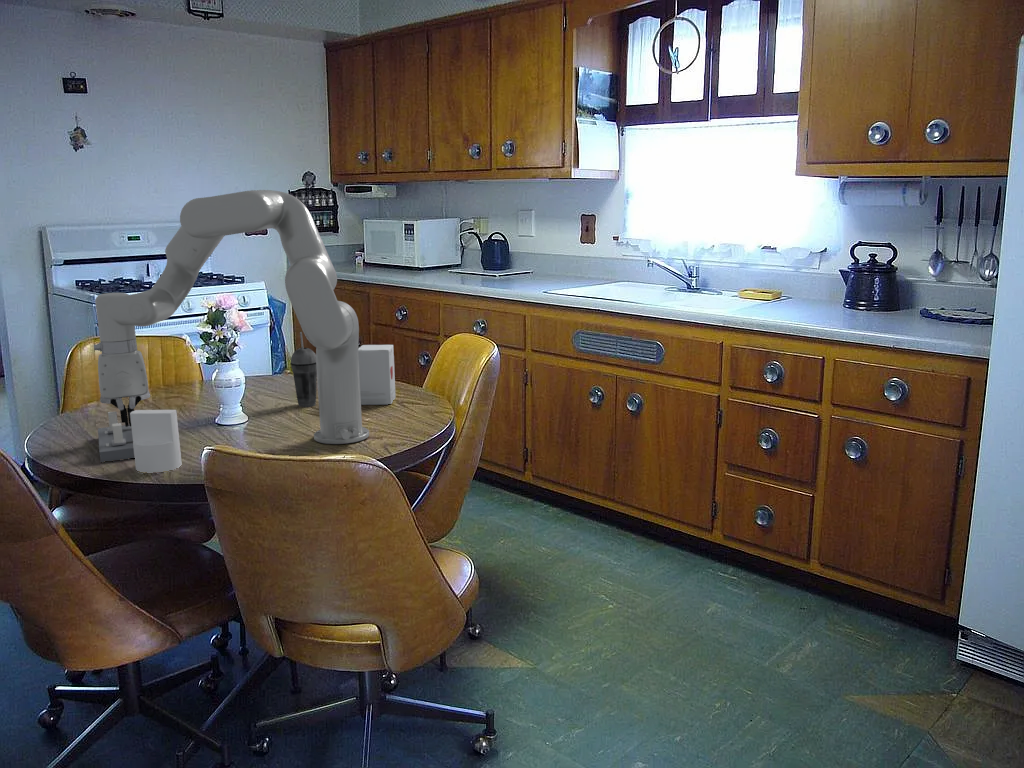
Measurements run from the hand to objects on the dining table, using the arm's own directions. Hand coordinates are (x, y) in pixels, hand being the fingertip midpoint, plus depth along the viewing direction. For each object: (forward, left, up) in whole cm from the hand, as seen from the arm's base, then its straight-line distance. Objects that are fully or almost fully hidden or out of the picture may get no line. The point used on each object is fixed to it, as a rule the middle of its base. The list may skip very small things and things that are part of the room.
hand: (128, 425), depth 207 cm
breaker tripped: (0, +3, -1) cm, 3 cm away
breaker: (-12, +3, -1) cm, 12 cm away
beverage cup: (+14, -44, -4) cm, 47 cm away
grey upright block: (-26, -4, -4) cm, 27 cm away
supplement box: (+9, -62, -4) cm, 63 cm away
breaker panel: (-6, -1, -4) cm, 7 cm away
